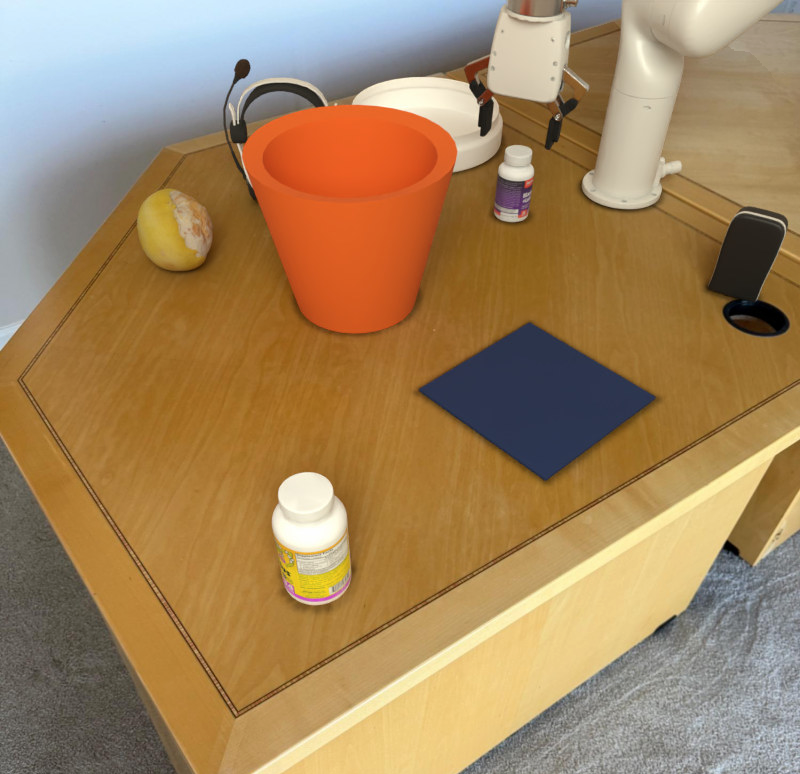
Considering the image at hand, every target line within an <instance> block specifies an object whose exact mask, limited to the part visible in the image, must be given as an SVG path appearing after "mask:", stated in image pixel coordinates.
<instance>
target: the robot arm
mask: <svg viewBox="0 0 800 774" xmlns="http://www.w3.org/2000/svg"><path fill="white" fill-rule="evenodd" d="M784 1H785V0H621V10H620V34H619V45H618V52H617V57H616V62H615V63H616V64H615V68H614V74H613V77H612V83H611V88H610V92H609V98H608V102H607V106H606V107H607V108H606V111H605V117H604V122H603V127H602V132H601V137H600V142H599V146H598V147H599V148H598V151H597V156H596V160H595V161H596V162H595V166H594V169H592V170H590V171H588V172H587V173H586V174H585V175H584V176H583V178H582V182H581V190H582V192H583V194H584V195H585V196H586V197H587V199H590V200H591V201H592V202H594V203H597V204H598V205H601V206H604V207H607V208H610V209H619V210H639V209H644V208H648V207H650V206H653V205H654V204H656V203H657V202H658V201H659V200H660V198H661V195H662V192H663V185H662V183H661V182H660V181H661V179H664V178H665V177H666V176H670V175H677V174H679V173H681V172H682V168H683V164H682V161H681V160H680V159H676V160H671V161H668V162H666V158H665V156H662V154H663V151H664V150H663V149H664V146H665V143H666V138H667V135H668V131H669V127H670V124H671V121H672V116H673V113H674V109H675V105H676V103H677V102H676V101H677V99H678V94H679V91H680V86H681V83H682V79H683V74H684V69H685V57H686V58H689V59H695V60H701V59H706V58H708V57H711V56H713V55H715V54H717V53H719V52H720V51H722V50H724V49H725V48H727V47H728V46H729V45H730V44H732V43H733V42H734V41H736V39H738V38H739V37H741V35H743V34H744V33H746V32H747V31H748V30H749V29H751V28H752V27H753V26H754V25H755V24H757V23H758V22H760V20H762V19H764V18H765V17H766V16H767V15H768V14H769V13H771V12H772V11H773V10H775V9H776V8H777V7H778V6H780V5H781V4H782V3H784ZM578 3H579V0H506V1H505V4H503V5H502V6H501V8H500V10H499V14H498V17H497V21H496V25H495V29H494V32H493V38H492V43H491V48H490V54H487V55H485V56H482V57H480V58H477V59H475V60H472V61H469V62H468V63H467V64H466V65H465V66H464V68H463V71H464V74H465V77H466V80H467V83H468V84H469V88H470V90H471V92H472V93H473V95H474V96H475V98H476V99H477V104H478V105H479V106H480V108H479V118H478V127H481V129H480V136H482V137H484V136H486V135H487V133H488V132H489V131H490V130H491V125H492V116H493V107H494V102H493V100H492V97H494V96H495V95H497V96H502V97H505V98H512V99H516V100H523V101H527V102H533V103H539V104H546V106H547V108H548V110H549V111H550V113H551V115H552V116H551V118H550V119H549V120H548V126H547V130H546V138H545V143H544V149H545V150H547V151H550V150H551V148H552V147H553V146H554V145H555V143H558V142H559V140H560V137H561V133H562V126H563V120H564V117H566V116H567V115H569V114H570V113H572V112H573V111H574V110H575V109H576V108H577V107H578V105H580V103H581V102H582V99H583V98H584V97H585V95H586V94H587V93H588V91H589V90H590V85H589V84H588V83H587V82H586V81H585V80H584V79H583V78H581V77H580V76H579V75H578V74H577V73H575V72H574V71H573V70H572V69H571V68H570V67H569V66H568V65H569V57H570V48H571V47H570V45H571V36H572V35H571V32H572V31H571V29H572V15H571V12H569V11H568V10H567V9H568V8H577V7H578ZM485 69H487V71H486V72H487V73H486V86H485V85H484V83H483V82H482V81H481V79H480V77H479V72H480V71H483V70H485ZM565 85H567V86H568V87H570V88H571V90H573V92H574V93H573V94H572V97H570V98H569V99H568V100H567V101H565V100H564V98H563V96H562V94H561V92H563V91H564V88H565Z"/></svg>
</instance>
